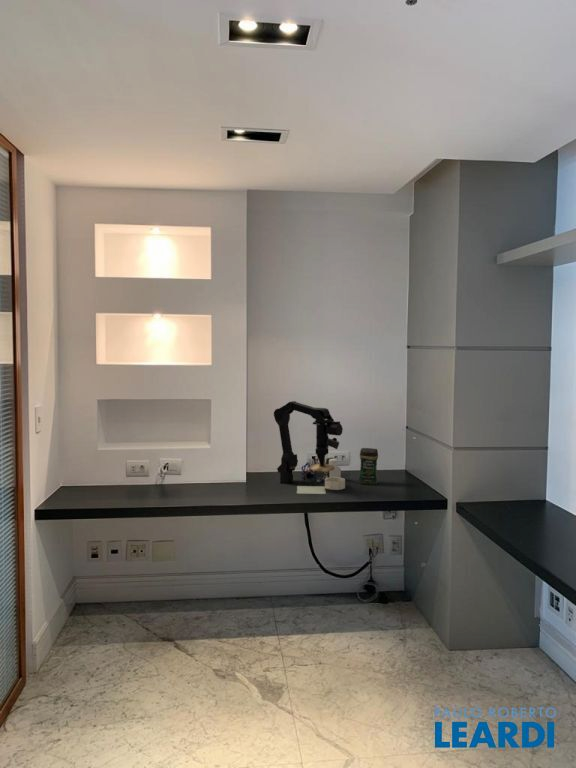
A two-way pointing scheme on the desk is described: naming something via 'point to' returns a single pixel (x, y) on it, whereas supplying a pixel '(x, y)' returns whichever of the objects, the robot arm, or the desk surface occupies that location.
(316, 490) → the mat
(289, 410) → the robot arm
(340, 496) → the desk surface
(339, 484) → the bowl
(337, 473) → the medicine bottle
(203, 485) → the desk surface
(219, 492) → the desk surface
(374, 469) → the coffee jar
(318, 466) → the lid
